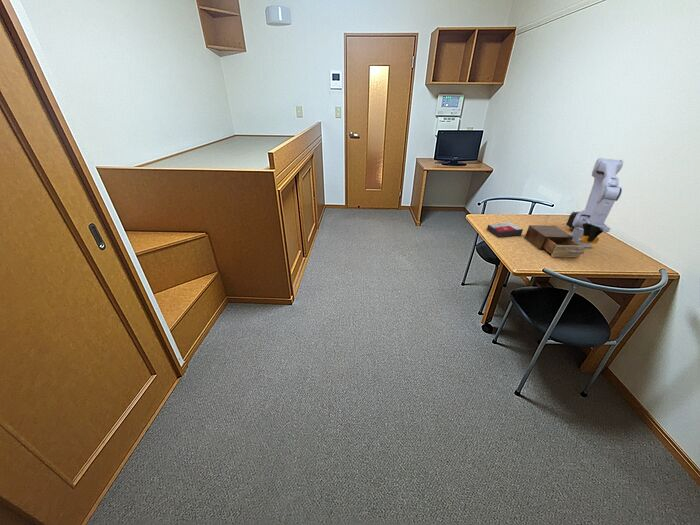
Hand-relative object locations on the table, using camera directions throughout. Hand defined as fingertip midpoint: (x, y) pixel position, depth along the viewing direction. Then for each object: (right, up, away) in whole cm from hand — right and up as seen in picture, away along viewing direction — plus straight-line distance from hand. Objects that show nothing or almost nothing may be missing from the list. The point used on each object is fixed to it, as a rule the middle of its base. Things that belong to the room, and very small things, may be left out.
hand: (587, 239), depth 141 cm
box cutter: (0, -1, +1) cm, 1 cm away
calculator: (-26, +6, +28) cm, 39 cm away
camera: (+22, +8, +34) cm, 41 cm away
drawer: (-9, -6, +6) cm, 12 cm away
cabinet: (-9, -1, +16) cm, 19 cm away
